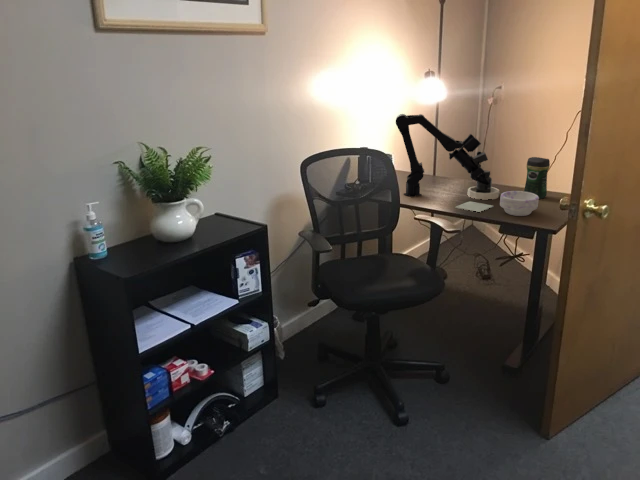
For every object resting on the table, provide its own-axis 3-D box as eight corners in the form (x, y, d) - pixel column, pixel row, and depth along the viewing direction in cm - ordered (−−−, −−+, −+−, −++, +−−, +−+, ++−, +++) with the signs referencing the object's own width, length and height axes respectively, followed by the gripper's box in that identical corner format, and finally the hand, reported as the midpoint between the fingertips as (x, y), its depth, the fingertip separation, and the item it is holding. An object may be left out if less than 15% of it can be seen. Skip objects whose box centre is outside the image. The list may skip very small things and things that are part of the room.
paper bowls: (534, 220, 213) (536, 201, 210) (495, 215, 220) (497, 197, 217) (539, 210, 225) (541, 192, 223) (503, 206, 233) (504, 189, 230)
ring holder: (461, 195, 252) (462, 189, 251) (481, 190, 259) (482, 184, 258) (484, 201, 241) (484, 195, 240) (504, 196, 248) (505, 190, 247)
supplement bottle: (491, 197, 246) (493, 172, 242) (476, 197, 248) (477, 172, 244) (489, 194, 253) (491, 169, 249) (475, 193, 254) (476, 169, 250)
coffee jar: (548, 197, 244) (553, 157, 238) (539, 200, 240) (543, 160, 233) (530, 193, 251) (534, 155, 245) (520, 196, 247) (524, 157, 241)
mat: (455, 207, 233) (455, 206, 233) (469, 202, 240) (469, 201, 240) (479, 212, 225) (479, 211, 224) (493, 206, 232) (493, 205, 232)
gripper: (480, 150, 234) (503, 174, 236) (475, 143, 252) (497, 166, 253) (461, 167, 238) (484, 191, 240) (457, 159, 256) (479, 182, 257)
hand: (487, 182), depth 248 cm, fingers open, 9 cm apart
